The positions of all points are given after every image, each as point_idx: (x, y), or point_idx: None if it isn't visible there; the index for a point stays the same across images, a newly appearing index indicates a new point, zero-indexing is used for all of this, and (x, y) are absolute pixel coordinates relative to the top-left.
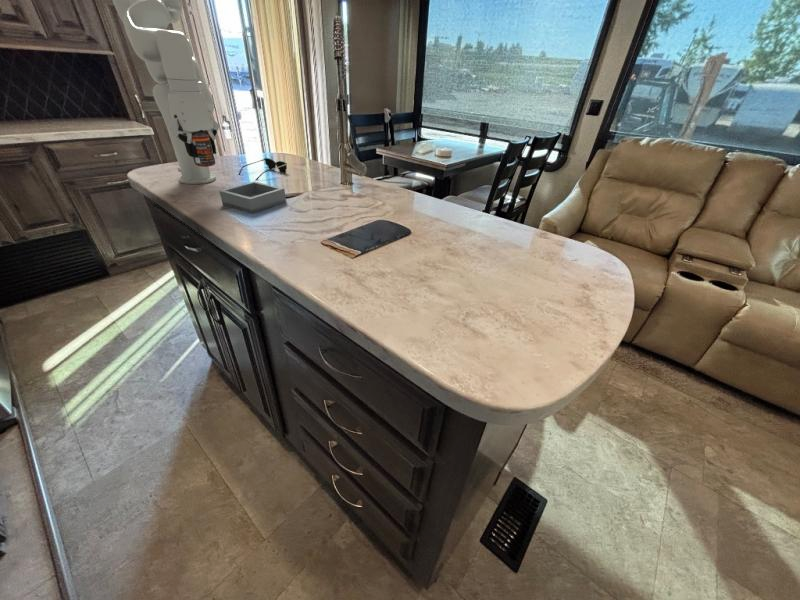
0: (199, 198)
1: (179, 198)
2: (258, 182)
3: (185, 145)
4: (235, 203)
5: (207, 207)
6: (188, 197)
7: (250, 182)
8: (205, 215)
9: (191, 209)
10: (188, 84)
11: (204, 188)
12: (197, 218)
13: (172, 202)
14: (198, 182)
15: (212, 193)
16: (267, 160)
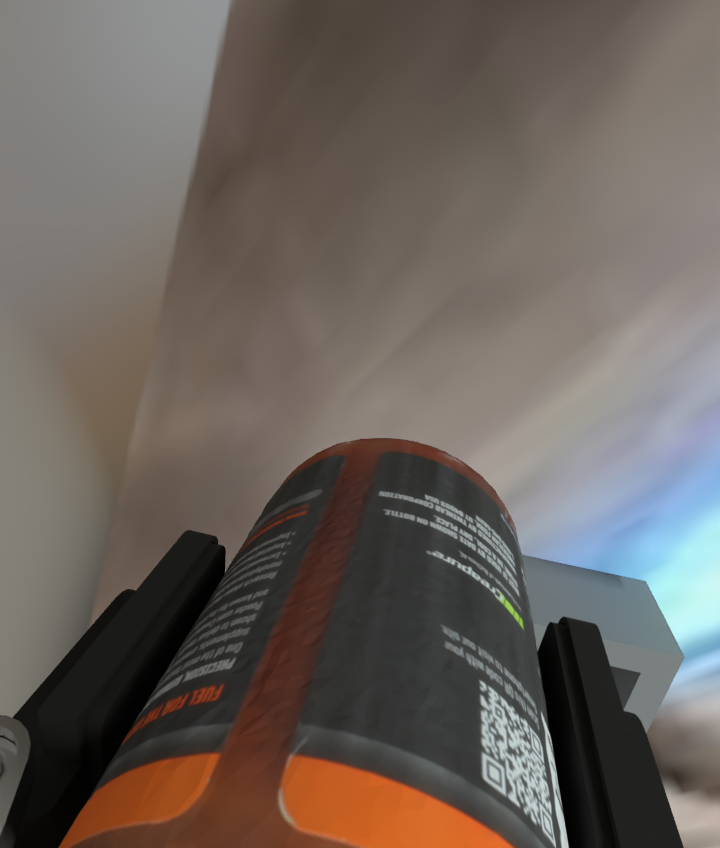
0: (375, 277)
1: (296, 123)
2: (660, 697)
3: (40, 696)
4: None
5: (261, 469)
6: (352, 171)
7: (636, 647)
8: (168, 544)
9: (185, 411)
10: None
11: (657, 47)
12: (118, 538)
13: (201, 168)
14: None
15: (533, 265)
16: None
